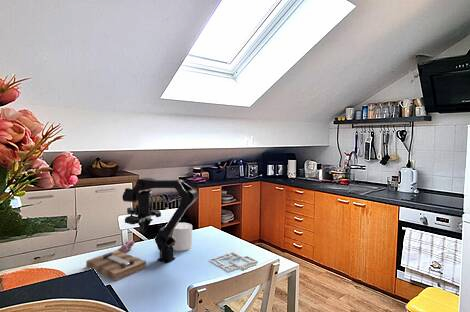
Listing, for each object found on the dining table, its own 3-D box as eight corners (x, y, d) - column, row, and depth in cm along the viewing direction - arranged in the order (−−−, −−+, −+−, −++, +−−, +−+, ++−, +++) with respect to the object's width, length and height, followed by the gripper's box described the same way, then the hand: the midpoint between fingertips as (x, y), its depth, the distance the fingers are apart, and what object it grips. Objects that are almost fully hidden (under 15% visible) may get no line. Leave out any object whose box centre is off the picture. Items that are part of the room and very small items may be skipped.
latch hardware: (134, 264, 137) (134, 260, 137) (123, 268, 132) (123, 264, 132) (112, 255, 146) (112, 251, 146) (101, 259, 141) (101, 255, 141)
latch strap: (130, 264, 136) (130, 262, 136) (125, 266, 134) (125, 264, 133) (112, 256, 143) (112, 254, 143) (106, 258, 141) (106, 256, 141)
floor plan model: (270, 262, 151) (270, 259, 151) (231, 276, 136) (231, 272, 135) (246, 251, 166) (246, 247, 166) (208, 261, 150) (208, 258, 150)
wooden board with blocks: (146, 267, 140) (146, 261, 140) (116, 280, 127) (116, 274, 127) (116, 255, 152) (116, 250, 152) (86, 267, 139) (86, 260, 139)
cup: (166, 247, 165) (166, 226, 165) (180, 241, 175) (180, 221, 174) (182, 252, 159) (182, 230, 158) (196, 245, 169) (196, 225, 168)
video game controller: (121, 258, 153) (127, 247, 152) (114, 253, 154) (120, 242, 153) (132, 251, 163) (137, 240, 162) (125, 246, 164) (130, 235, 163)
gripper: (147, 197, 163) (146, 226, 164) (117, 204, 147) (117, 235, 148) (161, 200, 157) (161, 229, 158) (132, 207, 141) (132, 240, 142)
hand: (143, 233), depth 152 cm, fingers closed
